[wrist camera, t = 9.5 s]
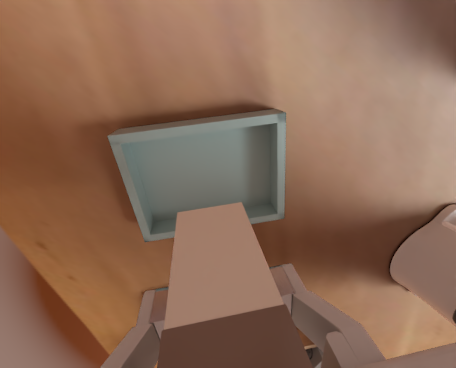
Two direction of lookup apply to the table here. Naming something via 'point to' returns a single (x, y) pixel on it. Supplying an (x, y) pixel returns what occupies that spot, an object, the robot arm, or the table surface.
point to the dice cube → (315, 356)
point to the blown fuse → (225, 298)
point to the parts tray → (203, 167)
